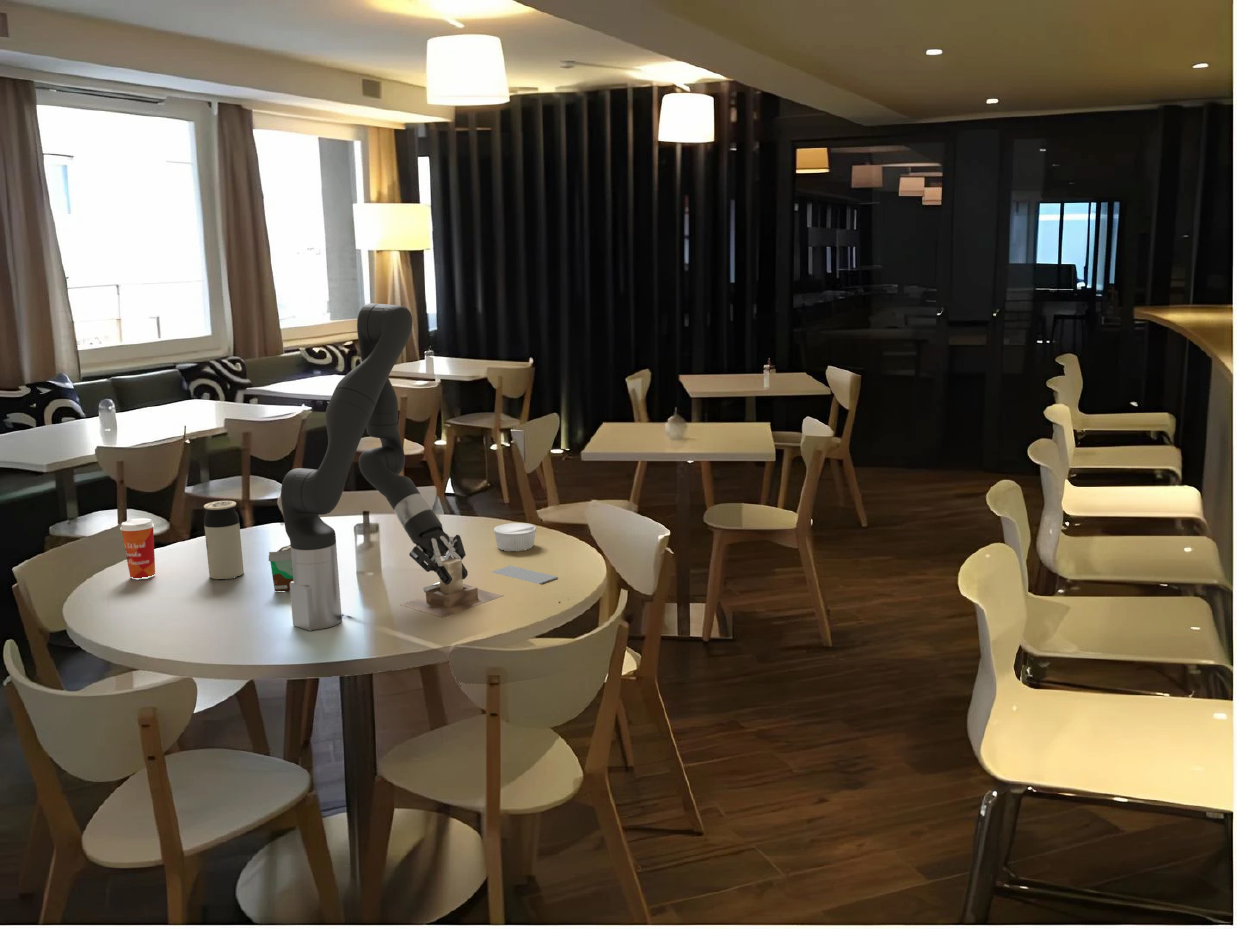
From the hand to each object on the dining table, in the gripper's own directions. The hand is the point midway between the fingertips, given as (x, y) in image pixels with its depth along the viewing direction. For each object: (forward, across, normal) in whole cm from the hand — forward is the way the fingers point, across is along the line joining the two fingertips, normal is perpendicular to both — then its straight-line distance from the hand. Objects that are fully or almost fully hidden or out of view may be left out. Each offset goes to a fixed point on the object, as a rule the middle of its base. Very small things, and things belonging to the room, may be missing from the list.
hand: (457, 579), depth 236 cm
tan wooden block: (+2, 0, +5) cm, 5 cm away
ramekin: (-12, +42, +22) cm, 49 cm away
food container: (-25, -13, +34) cm, 44 cm away
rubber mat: (+2, +19, +7) cm, 20 cm away
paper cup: (-52, -31, +61) cm, 86 cm away
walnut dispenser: (+3, 0, +6) cm, 6 cm away
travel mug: (-41, -18, +50) cm, 67 cm away
